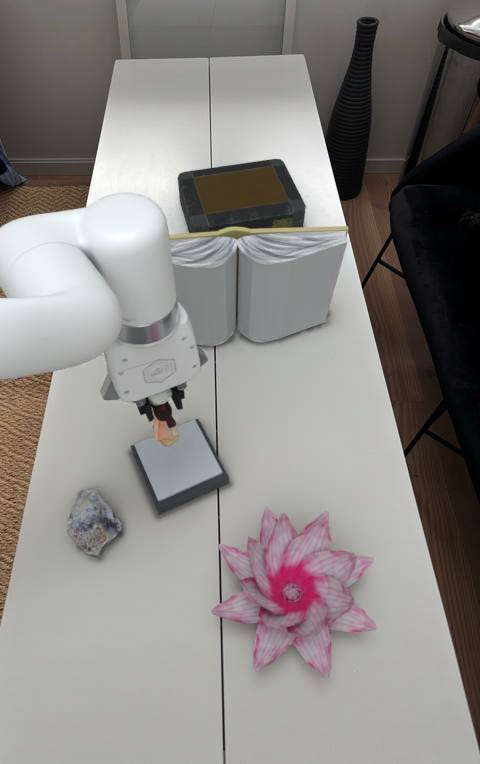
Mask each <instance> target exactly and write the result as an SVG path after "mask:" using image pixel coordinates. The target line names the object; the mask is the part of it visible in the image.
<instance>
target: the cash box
mask: <svg viewBox="0 0 480 764" xmlns="http://www.w3.org/2000/svg"><path fill="white" fill-rule="evenodd" d="M293 179H294V178H293V177H292V175H291V173H290V171H289V170H288V167H287V165H286V164H285V162H284V161H283V159H281V158H271V159H263V160H256V161H250V162H243V163H236V164H228V165H221V166H215V167H207V168H202V169H201V168H200V169H193V170H188V171H182V172H180V173H179V174H178V176H177V185H178V196H179V203H180V207H181V210H182V213H183V216H184V220H185V224H186V227H187V230H188V233H201V232H214V231H219V230H221V229H224V228H227V227H245V228H249V229H265V228H300V227H304V225H305V218H306V217H305V216H306V208H307V206H306V204H305V201H304V199H303V197H302V195H301V193H300V191H299V189H298V187H297V185H296V183H295V181H294V180H293Z"/></svg>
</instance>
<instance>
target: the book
mask: <svg viewBox="0 0 480 764" xmlns="http://www.w3.org/2000/svg"><path fill="white" fill-rule="evenodd" d="M348 232H349V225H340V226H337V225H335V226H305V227H304V226H303V227H300V228H265V229H249V228H245V227H227V228H224V229H221V230H219V231H214V232H201V233H189V232H187V233H175V234H169V239H170V247H171V255H172V263H173V271H174V279H175V287H176V293H177V301H178V302H179V303H180V304H181V306H182V307H183V308H184V309H185V311H186V313H187V315H188V317H189V319H190V322H191V325H192V328H193V332H194V336H195V340H196V344H197V346H203V347H205V346H208V347H215V346H219V345H222V344H224V343H225V342H227V341H228V340H229V339H230V338H231V336H232V335H234V333H235V331H236V328H237V330H238V331H239V332H240V334H241V335H242V336H243V337H244V338H246V339H248V340H249V341H252V342H255V343H261V344H263V343H269V342H273V341H274V342H275V341H276V340H279V339H283V338H285V337H288V336H291V335H294V334H296V333H299V332H300V333H301V332H302V331H305V330H307V329H310V328H313V327H316V326H319V325H322V324H325V323H327V322H328V320H327V318H328V314H329V310H330V307H331V303H332V299H333V295H334V292H335V289H336V284H337V281H338V278H339V275H340V270H341V268H342V267H341V266H342V264H343V260H344V256H345V253H346V249H347V246H348V243H350V240H349V239H348Z"/></svg>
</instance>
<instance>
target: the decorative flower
mask: <svg viewBox="0 0 480 764" xmlns="http://www.w3.org/2000/svg"><path fill="white" fill-rule="evenodd" d="M262 513H263V514H262V518H261V521H260V522H261V523H260V532H259V541H258V540H256V539H255V538H252V537H250V536H248V537H247V544H246V551H245V550H242V549H240V548H237V547H233V546H229V545H226V544H222V543H219V544H218V550H219V551H220V553H221V555H222V556H223V559H224V561H225V562H226V564H227V566H228V568H229V570H230V571H231V572H232V573H233V574H234V576H236V577H237V579H238V580H239V584H240V588H241V589H242V590H241V591H239V592H237V593H235V594H233V595H231V596H230V597H228V598H226V599H225V600H224V601H222V602H220V603H219V604H217V605H216V606H214V607H213V608H212V609H211V610H210V613H211V614H212V615H214V616H217V617H218V618H221V619H223V620H227V621H232V622H237V623H242V624H258V625H257V628H256V632H255V639H254V647H253V670H254V671H255V672H259V671H261V670H262V669H264V668H266V667H267V666H269V665H271V664H273V663H274V662H275V661H276V660H277V659H278V658H279V657H281V655H283V653H285V652H286V651H287V650H288V649H289V648H290V647H291V645H292V644H293V645H294V647H295V648H296V649H297V651H298V652H299V653H300V655H301V656H302V657H303V659H304V660H305V662H306V663H307V664H308V665H309V667H311V668H312V669H314V671H316V672H317V673H318V674H319V675H321V676H322V677H323V678H324V679H330V675H331V670H332V641H331V634H330V630H331V631H339V632H346V633H363V632H372V631H376V630H377V628H378V625H377V624H376V623H375V621H374V620H373V619H372V618H371V617H370V615H368V613H367V612H366V611H365V610H364V609H363V608H362V607H360V605H358V604H357V603H356V602H355V598H354V596H353V595H352V593H351V592H350V590H349V589H348V588H349V587H350V586H352V585H353V584H354V583H356V581H358V580H359V579H360V578H361V577H362V576H363V575H364V574H365V573H366V571H367V570H368V569H369V568H370V567H371V565H373V563H374V562H375V560H374V557H373V556H366V555H365V556H364V555H357V554H356V553H354V552H350V551H346V550H338V549H337V550H336V549H335V550H333V549H332V550H331V541H332V539H331V531H330V512H329V511H326V510H325V511H324V512H323V513H321V514H320V515H319V516H317V517H316V518H315V519H313V520H312V521H311V522H310V523H309V524H307V525H306V526H305V527H304V528H303V530H302V531H301V532H300V533H299V534H298V535H297V532H296V530H295V528H294V526H293V523H292V522H291V520H290V518H289V516H288V515H287V514H286V513H285V512H283V513H281V515H280V516H279V517H278V519H277V517H276V515H275V514H274V513H273V511H272V510H271V508H270V507H269V506H268V505H267V506H266V505H265V506H264V510H263V512H262Z"/></svg>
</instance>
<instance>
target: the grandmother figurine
mask: <svg viewBox="0 0 480 764" xmlns="http://www.w3.org/2000/svg"><path fill="white" fill-rule="evenodd" d="M172 393H173V391H172V389H171V388H170V389H167V390H164V391H162V392H159V393H157V394H154V395H151V396H149V397H148V399H149V402H150V404H151V407H152V412H153V416H154V419H153V424H152V430H153V436H154V439H155V440H156V441H157V442H159V441H161V444H162V445H163V446H165V447H168V446H171V445H172V444H174V443H175V442H176V441H177V440H178V439H179V434H178V433H179V432H178V430H177V427H178V426H177V421H176V419H175V417H173V408H172V406H171V404H170V403H169V402H170V399H171V396H172Z"/></svg>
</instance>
